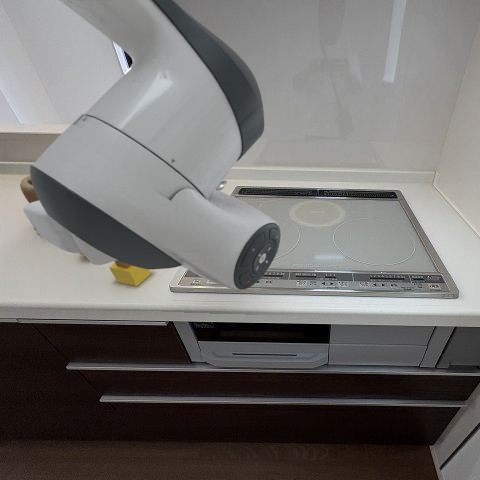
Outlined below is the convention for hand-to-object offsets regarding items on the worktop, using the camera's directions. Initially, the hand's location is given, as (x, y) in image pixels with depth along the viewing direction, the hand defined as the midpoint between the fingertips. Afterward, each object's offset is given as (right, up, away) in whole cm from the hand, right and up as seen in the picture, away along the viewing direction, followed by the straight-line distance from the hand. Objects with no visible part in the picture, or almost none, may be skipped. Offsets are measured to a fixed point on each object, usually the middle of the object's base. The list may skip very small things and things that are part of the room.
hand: (109, 181), depth 38 cm
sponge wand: (-10, -17, +19) cm, 27 cm away
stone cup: (-38, -4, +36) cm, 52 cm away
